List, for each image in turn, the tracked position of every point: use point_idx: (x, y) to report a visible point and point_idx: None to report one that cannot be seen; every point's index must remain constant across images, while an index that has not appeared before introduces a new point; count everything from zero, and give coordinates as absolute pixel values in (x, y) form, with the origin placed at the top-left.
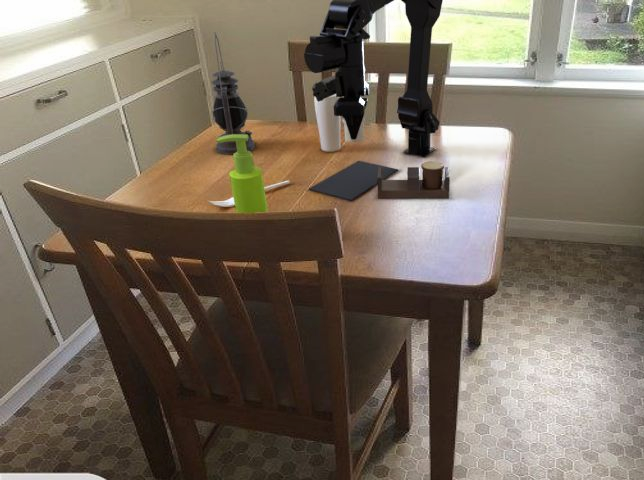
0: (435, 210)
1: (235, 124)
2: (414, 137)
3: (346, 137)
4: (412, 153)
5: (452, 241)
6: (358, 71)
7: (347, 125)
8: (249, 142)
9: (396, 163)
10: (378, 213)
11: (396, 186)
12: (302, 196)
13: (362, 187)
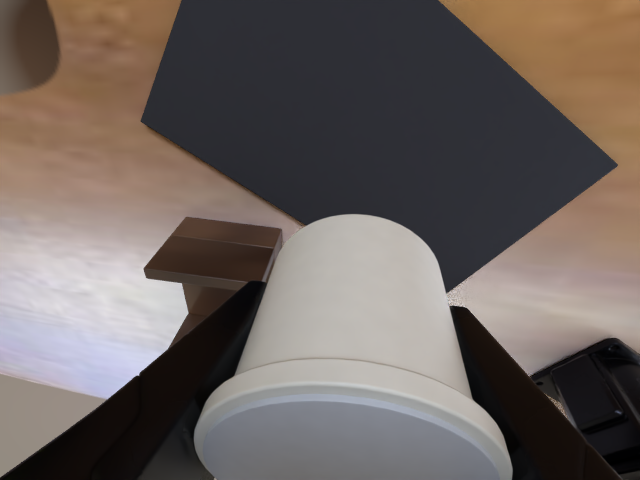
0: (143, 334)
1: None
2: (602, 429)
3: (298, 246)
4: (566, 363)
5: (10, 334)
6: None
7: (121, 391)
8: None
9: (513, 302)
10: (79, 209)
11: (215, 291)
12: None
13: (265, 171)
